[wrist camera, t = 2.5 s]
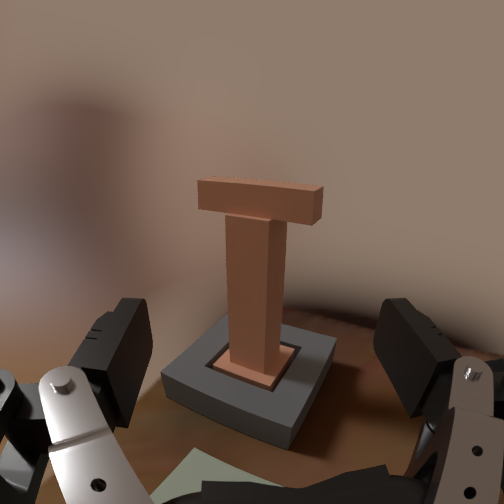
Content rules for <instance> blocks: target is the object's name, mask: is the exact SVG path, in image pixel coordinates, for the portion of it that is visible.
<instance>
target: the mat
mask: <svg viewBox="0 0 504 504" xmlns="http://www.w3.org/2000/svg"><path fill="white" fill-rule="evenodd" d="M202 480H204V481H236V482H243V481H250V482H255V483H261V484H267V485H274V486H280V485H277V484H275V483H272V482H269V481H267V480H264V479H261V478H259V477H256V476H254V475H252V474H249V473H247V472H244V471H242V470H240V469H238V468H235V467H233V466H231V465H229V464H226V463H224V462H222V461H220V460H218V459H216V458H214V457H212V456H210V455H208V454H206V453H204V452H202V451H200V450H198V449H196V448H194V449H193V450H192V451H191V452H190V453H189V454H188V455H187V456H186V458H185V459H184V460H183V461H182V462H181V463H180V464H179V465H178V466H177V467H176V469H175V470H174V471H173V472H172V473H171V474H170V475H169V476H168V477H167V478H166V479H165V480H164V481H163V483H162V484H161V485H160V486H159V487H158V488H157V489H156V490H155V491H154V492H153V493H152V494H151V495H150V498H151V499H152V501H153V502H154V504H162V503H164V502H166V501H168V500H171V499H173V498H176V497H179V496H182V495H185V494H189V493H194V492H200V491H201V484H202ZM280 487H283V486H280Z"/></svg>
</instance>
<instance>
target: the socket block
mask: <svg viewBox="0 0 504 504" xmlns="http://www.w3.org/2000/svg"><path fill="white" fill-rule="evenodd" d="M336 341H337V338H334V337H330V336H326V335H322V334H318V333H314V332H311V331H307V330H303V329H299V328H295V327H292V326H288V325H284V324H281V336H280V345H283V346H286V347H290V348H293V349H295V351H294V359H293V363H292V364H291V366H290V367H289V369H288V370H287V372H286V373H285V375H284V377H283V378H282V380H281V381H280V383H279V384H278V386H277V387H276V389H275V390H274V392H271V391H268V390H265V389H262V388H259V387H256V386H254V385H251V384H248V383H246V382H243V381H240V380H238V379H235V378H232V377H230V376H227V375H225V374H222V373H220V372H217V371H215V370H213V364H214V363H215V362H216V361H217V360H218V359H219V358H220V357H221V356H222V355H223V354H224V353H225V352H226V351H227V350H228V349H229V328H228V313H227V314H226V315H225V316H224V317H223V318H222V319H220V320H219V321H218V322H217V323H216V324H215V325H214V326H213V327H211V328H210V329H209V330H208V331H207V332H206V333H205V334H203V335H202V336H201V337H200V338H199V339H198V340H197V341H196V342H194V343H193V344H192V345H191V346H190V347H189V348H188V349H186V350H185V351H184V352H183V353H182V354H181V355H180V356H178V357H177V358H176V359H175V360H174V361H173V362H171V363H170V364H169V365H168V366H167V367H166V368H164V369H163V370H162V371H161V377H162V381H163V385H164V389H165V393H166V397H168V398H170V399H172V400H174V401H176V402H177V403H179V404H181V405H183V406H185V407H187V408H189V409H191V410H193V411H195V412H197V413H199V414H201V415H203V416H205V417H208V418H210V419H212V420H214V421H216V422H218V423H221V424H223V425H225V426H227V427H230V428H232V429H234V430H237V431H239V432H241V433H244V434H246V435H249V436H251V437H254V438H256V439H259V440H261V441H264V442H266V443H269V444H272V445H275V446H277V447H280V448H283V449H286V450H288V449H289V447H290V445H291V443H292V442H293V440H294V438H295V436H296V434H297V433H298V431H299V429H300V427H301V425H302V423H303V421H304V419H305V417H306V416H307V414H308V412H309V410H310V408H311V406H312V404H313V402H314V400H315V398H316V396H317V394H318V392H319V390H320V388H321V385H322V383H323V381H324V379H325V377H326V375H327V373H328V371H329V368H330V366H331V364H332V361H333V356H334V351H335V346H336Z"/></svg>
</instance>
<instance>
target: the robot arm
mask: <svg viewBox="0 0 504 504" xmlns="http://www.w3.org/2000/svg"><path fill="white" fill-rule="evenodd" d="M373 345H374V350H375V353H376V355H377V357H378V359H379V360H380V362H381V364H382V366H383V368H384V369H385V371H386V373H387V375H388V377H389V379H390V381H391V382H392V384H393V386H394V388H395V390H396V392H397V394H398V396H399V398H400V400H401V401H402V403H403V405H404V407H405V409H406V411H407V413H408V415H409V417H410V418H413V417H417V416H421V415H424V417H425V420H424V422H423V423H422V426H421V429H420V432H419V436H418V439H417V442H416V445H415V448H414V452H413V455H412V457H411V460H410V463H409V466H408V468H407V470H406V472H405V474H404V476H399V475H389V473H388V470H387V467H386V465H385V464H384V465H380V466H376V467H371V468H366V469H361V470H356V471H351V472H345V473H343V474H340V475H338V476H335V477H333V478H330V479H327V480H325V481H322V482H319V483H316V484H314V485H311V486H308V487H305V488H299V489H298V488H288V487H280V486H274V485H267V484H261V483H255V482H250V481H243V482H236V481H204V480H202V484H201V491H200V492H194V493H189V494H185V495H182V496H179V497H176V498H173V499H171V500H168V501H166V502H164V503H162V504H498V499H499V492H500V486H501V488H502V490H503V493H504V372H492V370H491V369H490V367H489V366H488V365H487V364H486V363H485V362H483V361H482V360H480V359H478V358H475V357H470V356H464V357H462V356H461V355H460V353H459V352H458V351H457V350H456V349H455V347H454V346H453V345H452V344H451V343H450V341H449V340H448V339H447V338H446V337H445V336H444V335H442V332H441V331H440V330H439V329H438V328H436V325H435V324H434V323H433V322H432V321H431V319H430V318H429V317H427V316H425V315H424V314H422V313H420V312H419V311H417V310H416V309H415V308H414V306H413V305H412V304H411V303H410V302H409V301H408V300H407V299H406V298H394V299H385V300H384V302H383V303H382V307H381V311H380V315H379V319H378V322H377V326H376V330H375V334H374V339H373ZM152 348H153V340H152V333H151V328H150V321H149V315H148V308H147V303H146V301H145V299H139V298H122V299H121V300H120V302H119V304H118V305H117V307H116V308H115V310H114V312H109V311H108V312H106V313H105V314H104V315H102V316H101V317H100V318H98V319H97V320H96V322H95V323H94V325H93V326H92V328H91V331H89V332H88V334H87V335H86V339H84V340H83V342H82V343H81V345H80V346H79V348H78V350H77V351H76V353H75V354H74V356H73V358H72V359H71V361H70V363H69V364H68V366H61V367H57V368H54V369H52V370H50V371H49V372H47V373H46V374H45V375H44V376H43V377H42V379H41V381H40V383H34V384H18V383H17V381H16V380H15V378H14V376H13V374H12V373H11V372H10V371H8V370H5V369H0V443H1V441H2V439H3V437H4V435H5V436H6V438H7V439H8V441H7V443H6V446H5V448H4V450H3V452H2V454H1V457H0V504H35V501H36V498H37V494H38V491H39V488H40V484H41V481H42V478H43V475H44V471H45V468H46V466H47V463H48V460H49V457H50V459H51V462H52V465H53V468H54V471H55V474H56V477H57V480H58V482H59V485H60V488H61V490H62V493H63V495H64V498H65V500H66V503H67V504H154V502H153V501H152V499H151V498H150V496H149V495H148V493H147V492H146V490H145V489H144V487H143V485H142V484H141V482H140V481H139V479H138V478H137V476H136V474H135V473H134V471H133V469H132V468H131V466H130V464H129V463H128V461H127V459H126V457H125V456H124V454H123V452H122V450H121V448H120V447H119V445H118V443H117V441H116V439H115V437H114V435H113V432H114V429H115V426H116V427H122V428H128V426H129V423H130V420H131V417H132V413H133V410H134V407H135V404H136V400H137V397H138V394H139V391H140V388H141V385H142V381H143V379H144V376H145V373H146V370H147V367H148V364H149V361H150V358H151V354H152Z"/></svg>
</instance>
